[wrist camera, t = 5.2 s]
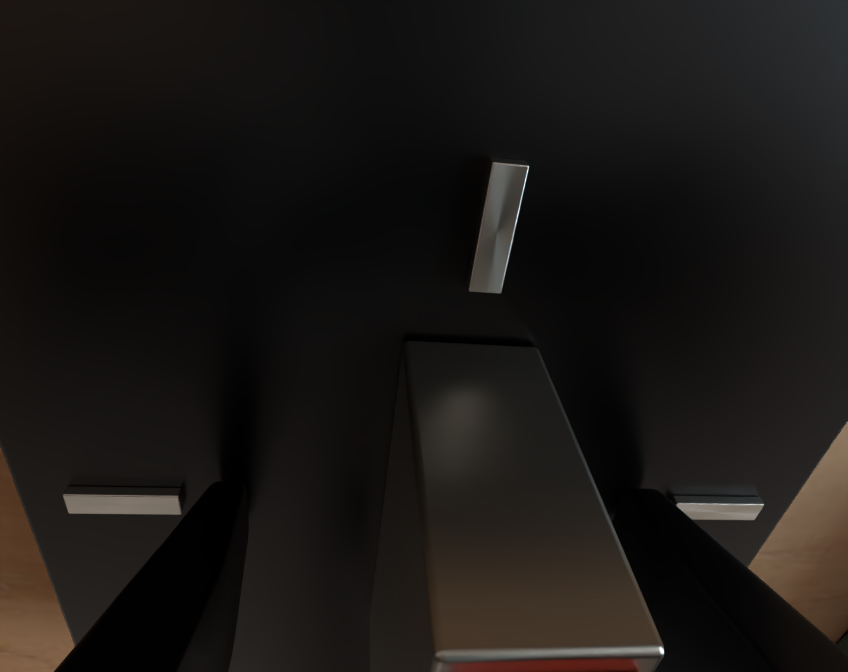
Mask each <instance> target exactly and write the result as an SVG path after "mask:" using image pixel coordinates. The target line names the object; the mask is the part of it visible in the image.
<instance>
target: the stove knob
mask: <svg viewBox="0 0 848 672" xmlns="http://www.w3.org/2000/svg"><path fill="white" fill-rule="evenodd" d="M663 657H664V647H663V643H662V640H661V638H660V636H659V633H658V631H657V629H656V626H655V624H654V621H653V619H652V617H651V614H650V612H649V610H648V607H647V605H646V603H645V600H644V598H643V595H642V593H641V591H640V588H639V586H638V584H637V581H636V579H635V577H634V574H633V572H632V569H631V567H630V565H629V562H628V560H627V558H626V555H625V553H624V551H623V548H622V546H621V543H620V541H619V539H618V536H617V534H616V532H615V529H614V527H613V525H612V522H611V520H610V517H609V515H608V513H607V510H606V508H605V506H604V503H603V501H602V499H601V496H600V494H599V491H598V489H597V487H596V484H595V482H594V480H593V477H592V475H591V472H590V470H589V468H588V465H587V463H586V461H585V458H584V456H583V454H582V451H581V449H580V446H579V444H578V442H577V439H576V437H575V435H574V432H573V430H572V428H571V425H570V423H569V420H568V418H567V416H566V413H565V411H564V409H563V406H562V404H561V402H560V399H559V397H558V394H557V392H556V390H555V387H554V385H553V383H552V380H551V378H550V376H549V373H548V371H547V368H546V366H545V364H544V361H543V359H542V357H541V354H540V352H539V350H538V349H537V348H535V347H524V346H503V345H483V344H463V343H442V342H422V341H407V342H405V343H404V345H403V347H402V354H401V363H400V371H399V379H398V387H397V396H396V404H395V412H394V421H393V429H392V437H391V445H390V454H389V462H388V470H387V479H386V487H385V495H384V503H383V512H382V520H381V528H380V537H379V545H378V553H377V562H376V570H375V578H374V586H373V595H372V603H371V611H370V672H654V671H655V669H656V668H657V666H658V665H659V663H660V662H661V660H662V659H663Z"/></svg>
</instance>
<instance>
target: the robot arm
mask: <svg viewBox="0 0 848 672" xmlns="http://www.w3.org/2000/svg"><path fill="white" fill-rule="evenodd" d="M612 525H613V527H614V529H615V532H616V534H617V536H618V539H619V541H620V543H621V546H622V548H623V551H624V553H625V555H626V558H627V560H628V562H629V565H630V567H631V569H632V572H633V574H634V577H635V579H636V581H637V584H638V586H639V588H640V591H641V593H642V595H643V598H644V600H645V603H646V605H647V607H648V610H649V612H650V614H651V617H652V619H653V621H654V624H655V626H656V629H657V631H658V633H659V636H660V638H661V640H662V643H663V647H664V657H663V659H662V660H661V662H660V663H659V665H658V666H657V668H656V669H655V671H654V672H848V654H846V653H845V652H844V651H843V650H842V649H841V648H840V647H838V646H837V645H836V644H835V643H834V642H833V641H831V640H830V639H829V638H828V637H827V636H826V635H825V634H823V633H822V632H821V631H820V630H819V629H818V628H816V627H815V626H814V625H813V624H812V623H811V622H810V621H808V620H807V619H806V618H805V617H804V616H803V615H802V614H800V613H799V612H798V611H797V610H796V609H795V608H793V607H792V606H791V605H790V604H789V603H788V602H787V601H785V600H784V599H783V598H782V597H781V596H780V595H778V594H777V593H776V592H775V591H774V590H773V589H772V588H770V587H769V586H768V585H767V584H766V583H765V582H763V581H762V580H761V579H760V578H759V577H758V576H757V575H755V574H754V573H753V572H752V571H751V570H750V569H749V568H747V567H746V566H745V565H744V564H743V563H742V562H740V561H739V560H738V559H737V558H736V557H735V556H734V555H732V554H731V553H730V552H729V551H728V550H727V549H725V548H724V547H723V546H722V545H721V544H720V543H719V542H717V541H716V540H715V539H714V538H713V537H712V536H710V535H709V534H708V533H707V532H706V531H705V530H704V529H702V528H701V527H700V526H699V525H698V524H697V523H696V522H694V521H693V520H692V519H691V518H690V517H689V516H687V515H686V514H685V513H684V512H683V511H682V510H681V509H679V508H678V507H677V506H676V505H675V504H674V503H672V502H671V501H670V500H669V499H668V498H667V497H666V496H664V495H663V494H662V493H661V492H659V491H657V490H655V489H644V488H632V489H629V490H628V491H626V492H625V494H624V496H623V498H622V500H621V502H620V504H619V507H618V509H617V511H616V513H615V516H614V518H613V520H612ZM248 533H249V518H248V502H247V488H246V485H245V484H244V483H242V482H220V481H219V482H215V483H213V484H211V485H210V486H209V487H208V489H207V490H206V491H205V492H204V493H203V494H202V496H201V497H200V498H199V499H198V500H197V502H196V503H195V504H194V505H193V506H192V508H191V509H190V510H189V511H188V512H187V514H186V515H185V516H184V517H183V518H182V520H181V521H180V522H179V523H178V524H177V525H176V527H175V528H174V529H173V530H172V531H171V533H170V534H169V535H168V536H167V537H166V539H165V540H164V541H163V542H162V543H161V545H160V546H159V547H158V548H157V549H156V551H155V552H154V553H153V554H152V555H151V557H150V558H149V559H148V560H147V561H146V562H145V564H144V565H143V566H142V567H141V568H140V570H139V571H138V572H137V573H136V574H135V576H134V577H133V578H132V579H131V580H130V582H129V583H128V584H127V585H126V586H125V588H124V589H123V590H122V591H121V592H120V593H119V595H118V596H117V597H116V598H115V599H114V601H113V602H112V603H111V604H110V605H109V607H108V608H107V609H106V610H105V611H104V613H103V614H102V615H101V616H100V617H99V619H98V620H97V621H96V622H95V623H94V624H93V626H92V627H91V628H90V629H89V630H88V632H87V633H86V634H85V635H84V636H83V638H82V639H81V640H80V641H79V642H78V644H77V645H76V646H75V647H74V648H73V650H72V651H71V652H70V653H69V654H68V655H67V657H66V658H65V659H64V660H63V661H62V663H61V664H60V665H59V666H58V667H57V669H56V670H55V671H54V672H228V671H229V666H230V662H231V657H232V652H233V646H234V640H235V634H236V626H237V619H238V611H239V604H240V596H241V588H242V581H243V573H244V566H245V558H246V550H247V543H248Z"/></svg>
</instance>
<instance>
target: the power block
mask: <svg viewBox="0 0 848 672" xmlns="http://www.w3.org/2000/svg"><path fill="white" fill-rule="evenodd" d="M837 646H838V647H840V648H841V649H842V650H843V651H844V652H845V653H846V654H848V633H847V634H846V635H845V636H844V637H843V638H842V639H841V641H840V642H839V643H838V644H837Z"/></svg>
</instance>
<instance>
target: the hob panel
mask: <svg viewBox="0 0 848 672" xmlns="http://www.w3.org/2000/svg"><path fill="white" fill-rule="evenodd" d="M407 341H422V342H442V343H463V344H483V345H503V346H524V347H535V348H537V349H538V350H539V352H540V354H541V357H542V359H543V361H544V364H545V366H546V368H547V371H548V373H549V376H550V378H551V380H552V383H553V385H554V387H555V390H556V392H557V394H558V397H559V399H560V402H561V404H562V406H563V409H564V411H565V413H566V416H567V418H568V420H569V423H570V425H571V428H572V430H573V432H574V435H575V437H576V439H577V442H578V444H579V446H580V449H581V451H582V454H583V456H584V458H585V461H586V463H587V465H588V468H589V470H590V472H591V475H592V477H593V480H594V482H595V484H596V487H597V489H598V491H599V494H600V496H601V499H602V501H603V503H604V506H605V508H606V510H607V513H608V515H609V517H610V520H611V522H612V520H613V518H614V516H615V513H616V511H617V509H618V507H619V504H620V502H621V500H622V498H623V496H624V494H625V492H626V491H628V490H629V489H632V488H644V489H655V490H657V491H659V492H661V493H662V494H663V495H664V496H666V497H667V498H668V499H669V500H670V501H671V502H672V503H674V504H675V505H676V506H677V507H678V508H679V509H681V510H682V511H683V512H684V513H685V514H686V515H687V516H689V517H690V518H691V519H692V520H693V521H694V522H696V523H697V524H698V525H699V526H700V527H701V528H702V529H704V530H705V531H706V532H707V533H708V534H709V535H710V536H712V537H713V538H714V539H715V540H716V541H717V542H719V543H720V544H721V545H722V546H723V547H724V548H725V549H727V550H728V551H729V552H730V553H731V554H732V555H734V556H735V557H736V558H737V559H738V560H739V561H740V562H742V563H743V564H744V565H745V566H746V567H748V566H749V564H750V563H751V561H752V560H753V559H754V557H755V556H756V554H757V553H758V551H759V550H760V548H761V547H762V545H763V544H764V542H765V541H766V540H767V538H768V537H769V535H770V534H771V532H772V531H773V529H774V528H775V526H776V525H777V523H778V522H779V520H780V519H781V518H782V516H783V515H784V513H785V512H786V510H787V509H788V507H789V506H790V504H791V503H792V501H793V500H794V499H795V497H796V496H797V494H798V493H799V491H800V490H801V488H802V487H803V485H804V484H805V482H806V481H807V479H808V478H809V477H810V475H811V474H812V472H813V471H814V469H815V468H816V466H817V465H818V463H819V462H820V460H821V459H822V458H823V456H824V455H825V453H826V452H827V450H828V449H829V447H830V446H831V444H832V443H833V441H834V440H835V438H836V437H837V436H838V434H839V433H840V431H841V430H842V428H843V427H844V425H845V424H846V422H847V421H848V0H0V446H1V449H2V451H3V454H4V457H5V459H6V462H7V465H8V468H9V470H10V473H11V476H12V478H13V481H14V484H15V486H16V489H17V492H18V494H19V497H20V500H21V502H22V505H23V508H24V511H25V513H26V516H27V519H28V521H29V524H30V527H31V529H32V532H33V535H34V537H35V540H36V543H37V545H38V548H39V551H40V553H41V556H42V559H43V562H44V564H45V567H46V570H47V572H48V575H49V578H50V580H51V583H52V586H53V588H54V591H55V594H56V596H57V599H58V602H59V605H60V607H61V610H62V613H63V615H64V618H65V621H66V623H67V626H68V629H69V631H70V634H71V637H72V639H73V642H74V645H75V646H76V645H77V644H78V642H79V641H80V640H81V639H82V638H83V636H84V635H85V634H86V633H87V632H88V630H89V629H90V628H91V627H92V626H93V624H94V623H95V622H96V621H97V620H98V619H99V617H100V616H101V615H102V614H103V613H104V611H105V610H106V609H107V608H108V607H109V605H110V604H111V603H112V602H113V601H114V599H115V598H116V597H117V596H118V595H119V593H120V592H121V591H122V590H123V589H124V588H125V586H126V585H127V584H128V583H129V582H130V580H131V579H132V578H133V577H134V576H135V574H136V573H137V572H138V571H139V570H140V568H141V567H142V566H143V565H144V564H145V562H146V561H147V560H148V559H149V558H150V557H151V555H152V554H153V553H154V552H155V551H156V549H157V548H158V547H159V546H160V545H161V543H162V542H163V541H164V540H165V539H166V537H167V536H168V535H169V534H170V533H171V531H172V530H173V529H174V528H175V527H176V525H177V524H178V523H179V522H180V521H181V520H182V518H183V517H184V516H185V515H186V514H187V512H188V511H189V510H190V509H191V508H192V506H193V505H194V504H195V503H196V502H197V500H198V499H199V498H200V497H201V496H202V494H203V493H204V492H205V491H206V490H207V489H208V487H209V486H210V485H211V484H213V483H215V482H219V481H220V482H242V483H244V484H245V485H246V488H247V502H248V518H249V533H248V543H247V550H246V558H245V566H244V573H243V581H242V588H241V596H240V604H239V611H238V619H237V626H236V634H235V640H234V646H233V652H232V657H231V662H230V666H229V671H228V672H370V611H371V603H372V595H373V586H374V578H375V570H376V562H377V553H378V545H379V537H380V528H381V520H382V512H383V503H384V495H385V487H386V479H387V470H388V462H389V454H390V445H391V437H392V429H393V421H394V412H395V404H396V396H397V387H398V379H399V371H400V363H401V354H402V347H403V345H404V343H405V342H407Z"/></svg>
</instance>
